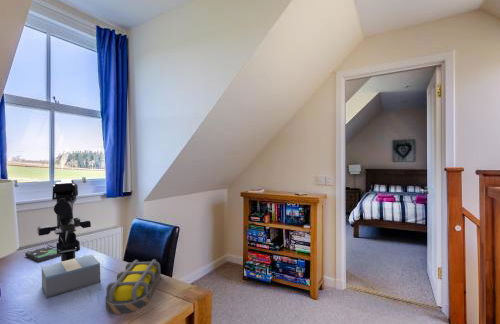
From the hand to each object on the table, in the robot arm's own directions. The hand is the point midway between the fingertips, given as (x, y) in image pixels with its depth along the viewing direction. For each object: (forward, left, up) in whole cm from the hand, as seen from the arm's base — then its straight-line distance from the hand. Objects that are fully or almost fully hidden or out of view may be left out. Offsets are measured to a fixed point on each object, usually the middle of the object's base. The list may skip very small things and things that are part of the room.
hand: (65, 246), depth 117 cm
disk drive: (-35, -4, -14) cm, 38 cm away
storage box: (+11, 0, -13) cm, 17 cm away
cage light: (+35, +17, -14) cm, 41 cm away
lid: (+11, 0, -6) cm, 13 cm away
